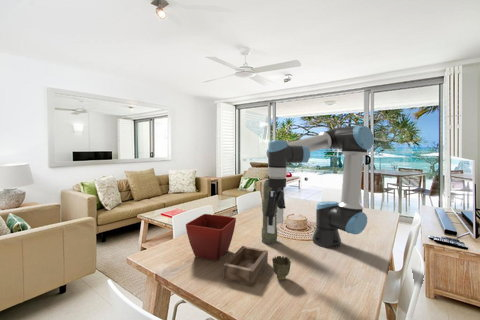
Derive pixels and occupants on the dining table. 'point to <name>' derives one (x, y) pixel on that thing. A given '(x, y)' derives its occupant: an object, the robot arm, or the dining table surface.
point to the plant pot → (210, 235)
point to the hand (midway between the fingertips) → (275, 227)
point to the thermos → (267, 237)
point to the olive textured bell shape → (281, 267)
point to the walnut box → (246, 265)
